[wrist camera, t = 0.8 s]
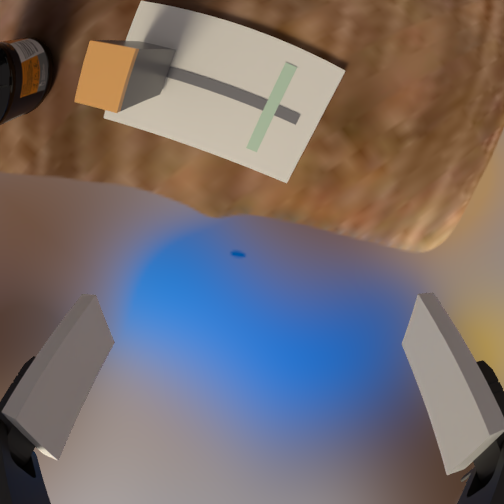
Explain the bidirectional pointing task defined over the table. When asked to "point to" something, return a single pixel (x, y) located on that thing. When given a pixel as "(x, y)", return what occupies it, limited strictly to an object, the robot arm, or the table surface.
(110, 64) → the lever
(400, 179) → the table surface
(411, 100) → the table surface
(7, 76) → the supplement container
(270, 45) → the fader console
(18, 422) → the robot arm
